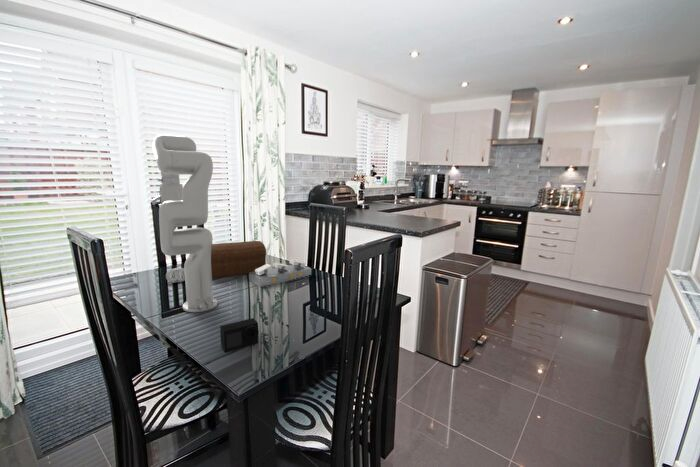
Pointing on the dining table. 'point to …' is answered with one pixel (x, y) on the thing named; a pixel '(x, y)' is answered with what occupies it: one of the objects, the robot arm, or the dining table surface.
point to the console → (279, 275)
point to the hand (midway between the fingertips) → (173, 216)
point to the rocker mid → (281, 266)
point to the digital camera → (239, 334)
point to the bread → (237, 258)
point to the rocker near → (263, 269)
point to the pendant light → (177, 275)
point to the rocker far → (297, 263)
